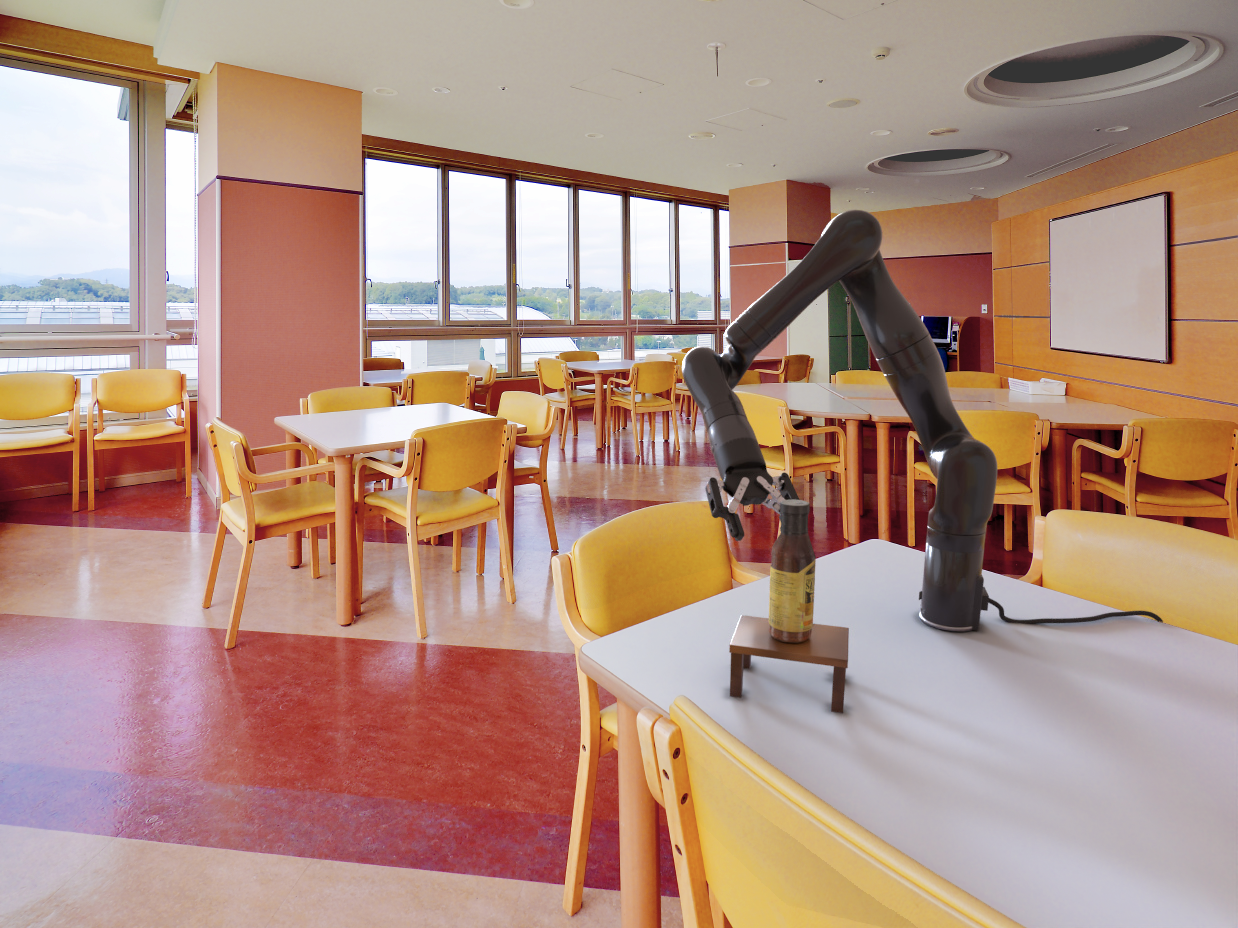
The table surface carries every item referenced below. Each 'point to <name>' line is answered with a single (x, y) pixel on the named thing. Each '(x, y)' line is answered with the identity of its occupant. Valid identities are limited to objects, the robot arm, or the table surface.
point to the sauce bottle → (792, 576)
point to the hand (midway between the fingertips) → (766, 536)
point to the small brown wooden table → (790, 652)
